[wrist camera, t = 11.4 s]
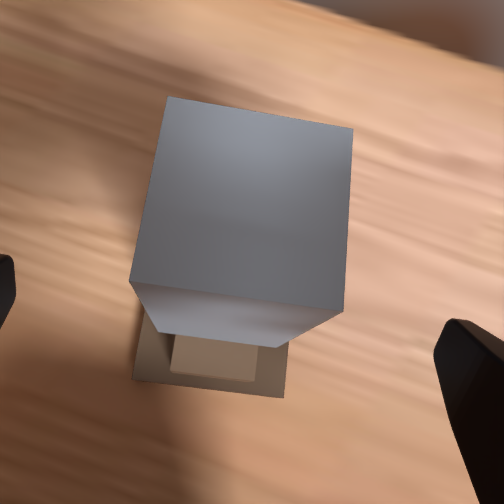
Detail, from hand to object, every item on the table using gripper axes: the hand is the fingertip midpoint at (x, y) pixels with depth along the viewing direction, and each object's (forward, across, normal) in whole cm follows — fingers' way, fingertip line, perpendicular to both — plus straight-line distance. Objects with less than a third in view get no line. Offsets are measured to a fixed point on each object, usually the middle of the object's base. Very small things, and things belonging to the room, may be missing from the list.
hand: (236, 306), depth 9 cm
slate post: (+9, 0, +5) cm, 10 cm away
